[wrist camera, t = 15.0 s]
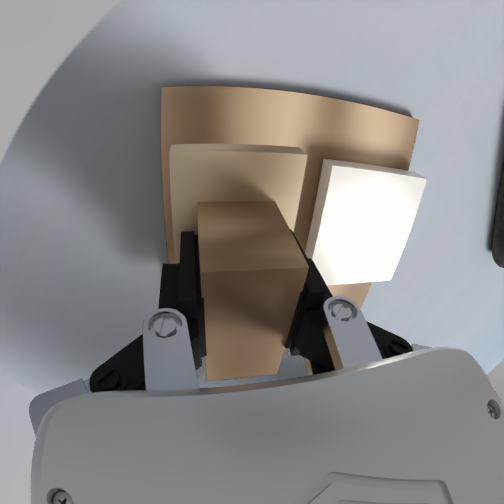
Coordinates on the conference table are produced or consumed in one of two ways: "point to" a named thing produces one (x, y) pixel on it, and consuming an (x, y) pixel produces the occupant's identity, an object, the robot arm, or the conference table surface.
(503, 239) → the decorative stone
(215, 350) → the wooden float
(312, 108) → the cork mat
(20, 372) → the conference table surface
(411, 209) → the tile
